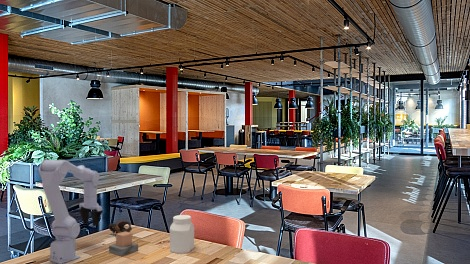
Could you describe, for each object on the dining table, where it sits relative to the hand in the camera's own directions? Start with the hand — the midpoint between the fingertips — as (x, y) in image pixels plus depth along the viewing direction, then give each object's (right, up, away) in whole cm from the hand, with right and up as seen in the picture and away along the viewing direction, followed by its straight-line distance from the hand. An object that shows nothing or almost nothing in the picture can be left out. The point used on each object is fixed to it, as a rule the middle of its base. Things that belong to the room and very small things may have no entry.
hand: (90, 224), depth 174 cm
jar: (+44, -11, -4) cm, 46 cm away
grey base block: (+18, -11, -7) cm, 22 cm away
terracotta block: (+18, -8, -7) cm, 21 cm away
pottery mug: (+8, -11, +18) cm, 23 cm away
